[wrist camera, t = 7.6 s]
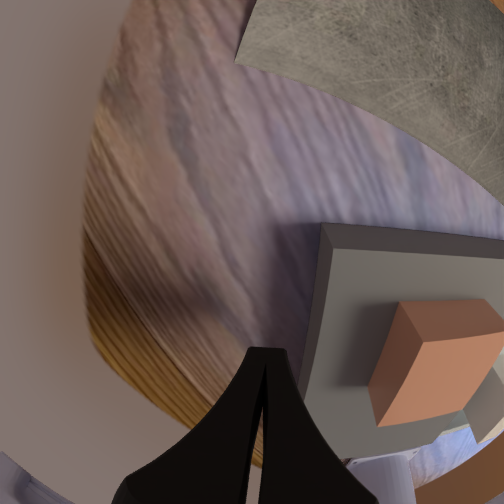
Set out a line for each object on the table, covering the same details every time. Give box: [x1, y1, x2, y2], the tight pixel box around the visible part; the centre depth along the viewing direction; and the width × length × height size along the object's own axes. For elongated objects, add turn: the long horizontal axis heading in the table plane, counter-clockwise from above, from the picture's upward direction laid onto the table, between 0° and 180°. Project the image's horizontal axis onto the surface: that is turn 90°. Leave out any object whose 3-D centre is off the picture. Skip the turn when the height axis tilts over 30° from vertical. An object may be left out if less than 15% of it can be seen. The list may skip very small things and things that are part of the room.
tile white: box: [463, 354, 504, 444], centre depth 12 cm, size 5×5×2 cm
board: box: [297, 223, 504, 459], centre depth 13 cm, size 16×12×3 cm
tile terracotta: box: [367, 299, 504, 427], centre depth 9 cm, size 5×5×2 cm
